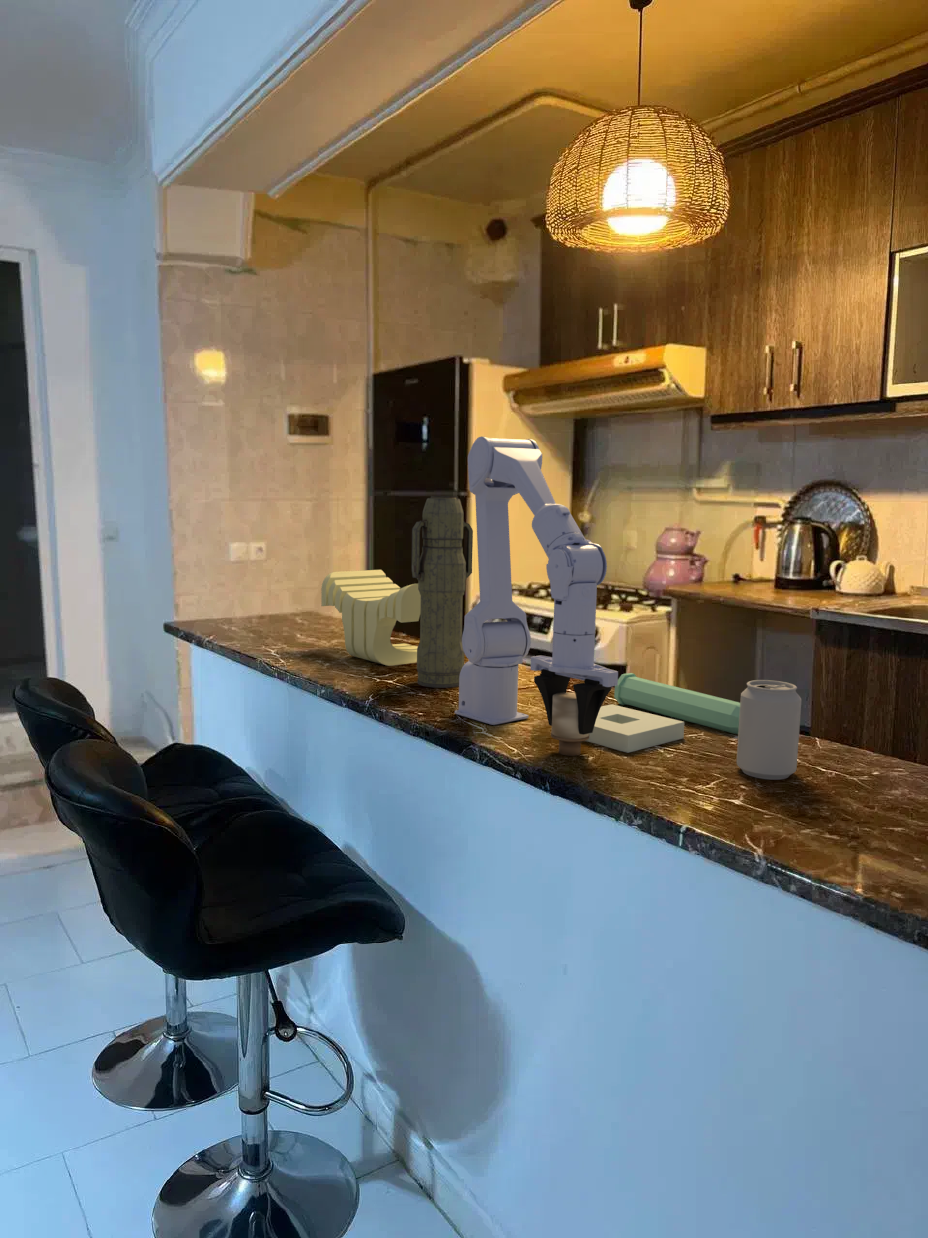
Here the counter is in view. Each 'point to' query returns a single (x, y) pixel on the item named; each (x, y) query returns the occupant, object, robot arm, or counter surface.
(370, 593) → the slatted curved stool
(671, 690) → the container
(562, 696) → the peg
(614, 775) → the counter surface
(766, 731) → the can
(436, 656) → the thermos
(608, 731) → the board
